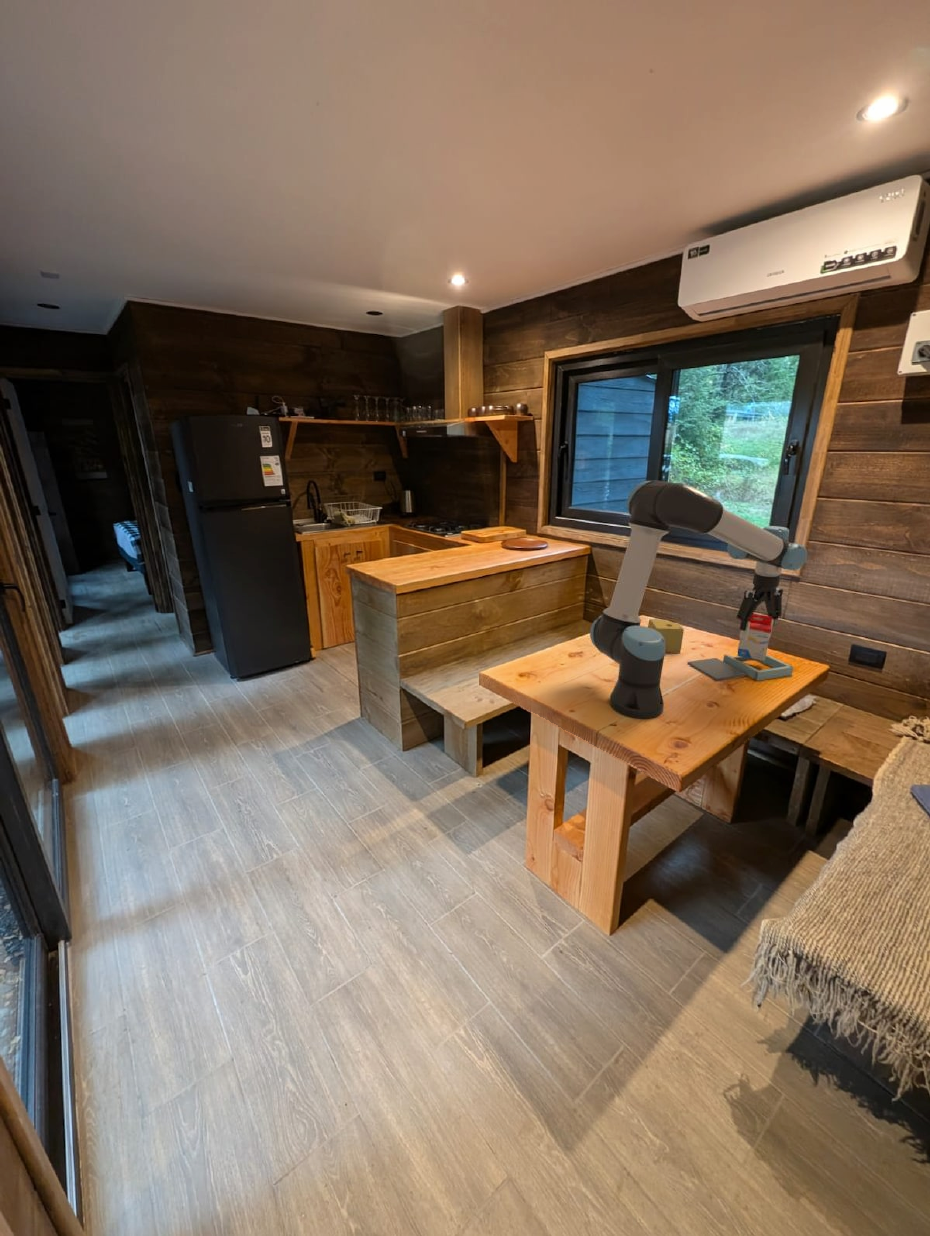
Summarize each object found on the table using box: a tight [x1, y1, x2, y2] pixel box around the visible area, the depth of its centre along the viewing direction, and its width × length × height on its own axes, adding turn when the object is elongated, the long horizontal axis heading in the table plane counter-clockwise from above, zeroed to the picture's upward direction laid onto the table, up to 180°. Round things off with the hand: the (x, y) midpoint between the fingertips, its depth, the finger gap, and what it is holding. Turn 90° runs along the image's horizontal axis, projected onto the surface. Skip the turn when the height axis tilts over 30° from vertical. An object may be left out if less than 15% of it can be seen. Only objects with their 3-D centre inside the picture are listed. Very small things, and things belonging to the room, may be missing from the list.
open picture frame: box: [722, 653, 794, 682], centre depth 173 cm, size 14×15×3 cm
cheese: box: [647, 618, 685, 654], centre depth 190 cm, size 10×11×10 cm
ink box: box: [737, 613, 772, 661], centre depth 173 cm, size 8×5×15 cm, turn 62°
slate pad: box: [687, 657, 747, 682], centre depth 173 cm, size 12×14×1 cm
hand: (754, 637), depth 173 cm, fingers closed on ink box, 9 cm apart
